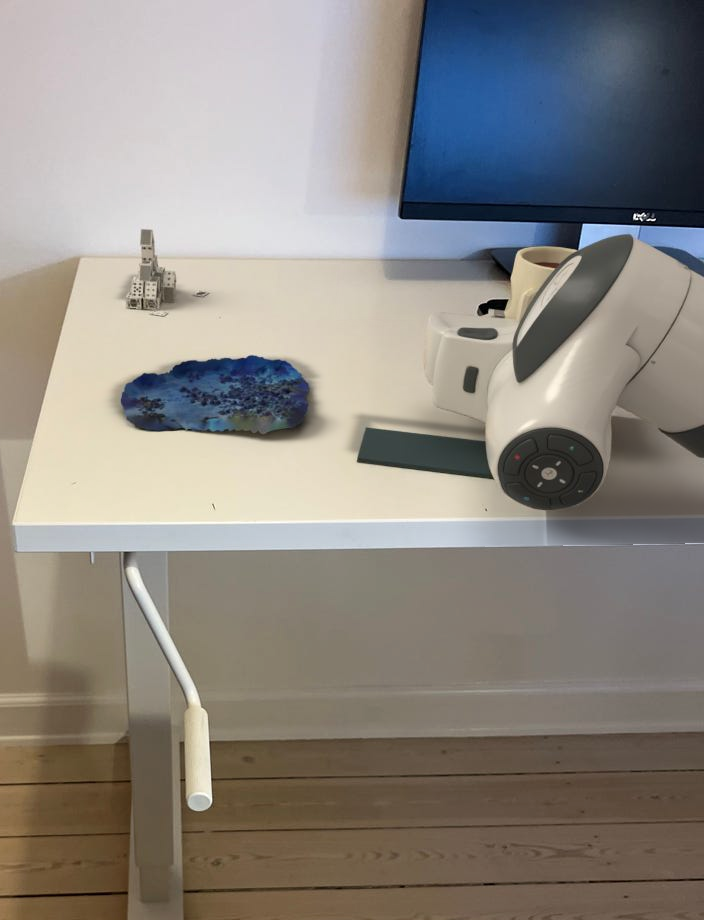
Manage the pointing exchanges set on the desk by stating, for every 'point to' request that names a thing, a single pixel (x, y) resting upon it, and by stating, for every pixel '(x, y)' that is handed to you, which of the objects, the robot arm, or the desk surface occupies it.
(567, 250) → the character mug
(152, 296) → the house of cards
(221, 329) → the desk surface
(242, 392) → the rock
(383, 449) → the mat
